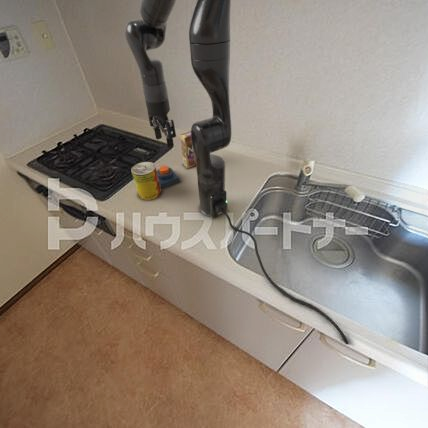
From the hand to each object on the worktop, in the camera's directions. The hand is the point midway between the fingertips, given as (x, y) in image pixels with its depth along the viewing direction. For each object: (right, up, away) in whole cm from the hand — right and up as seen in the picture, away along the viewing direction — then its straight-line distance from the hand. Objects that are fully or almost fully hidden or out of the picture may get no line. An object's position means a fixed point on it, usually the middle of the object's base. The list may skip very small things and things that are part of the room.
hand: (164, 142), depth 89 cm
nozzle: (-2, -9, +11) cm, 15 cm away
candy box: (+10, -3, +22) cm, 24 cm away
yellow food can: (-7, -18, +8) cm, 21 cm away
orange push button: (-2, -12, +14) cm, 18 cm away
